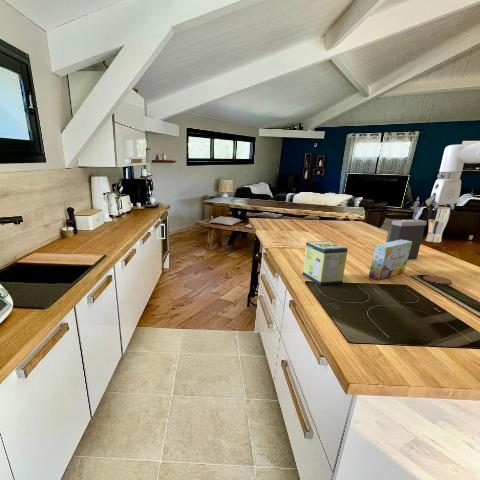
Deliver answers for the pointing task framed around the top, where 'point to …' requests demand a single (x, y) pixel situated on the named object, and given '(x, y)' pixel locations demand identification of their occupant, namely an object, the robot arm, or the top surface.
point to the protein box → (324, 262)
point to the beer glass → (437, 224)
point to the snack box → (390, 259)
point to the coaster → (437, 280)
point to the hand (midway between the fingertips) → (438, 218)
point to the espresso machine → (408, 234)
